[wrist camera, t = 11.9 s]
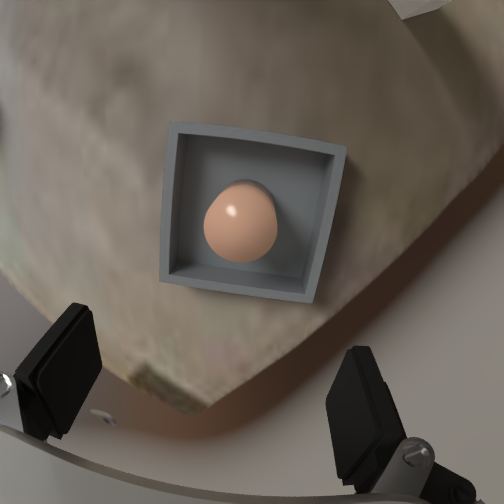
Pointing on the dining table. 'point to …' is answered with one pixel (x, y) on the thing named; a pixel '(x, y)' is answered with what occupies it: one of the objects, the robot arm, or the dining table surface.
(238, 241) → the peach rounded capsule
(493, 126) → the dining table surface
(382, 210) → the dining table surface
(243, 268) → the bin
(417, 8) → the milk
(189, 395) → the dining table surface
